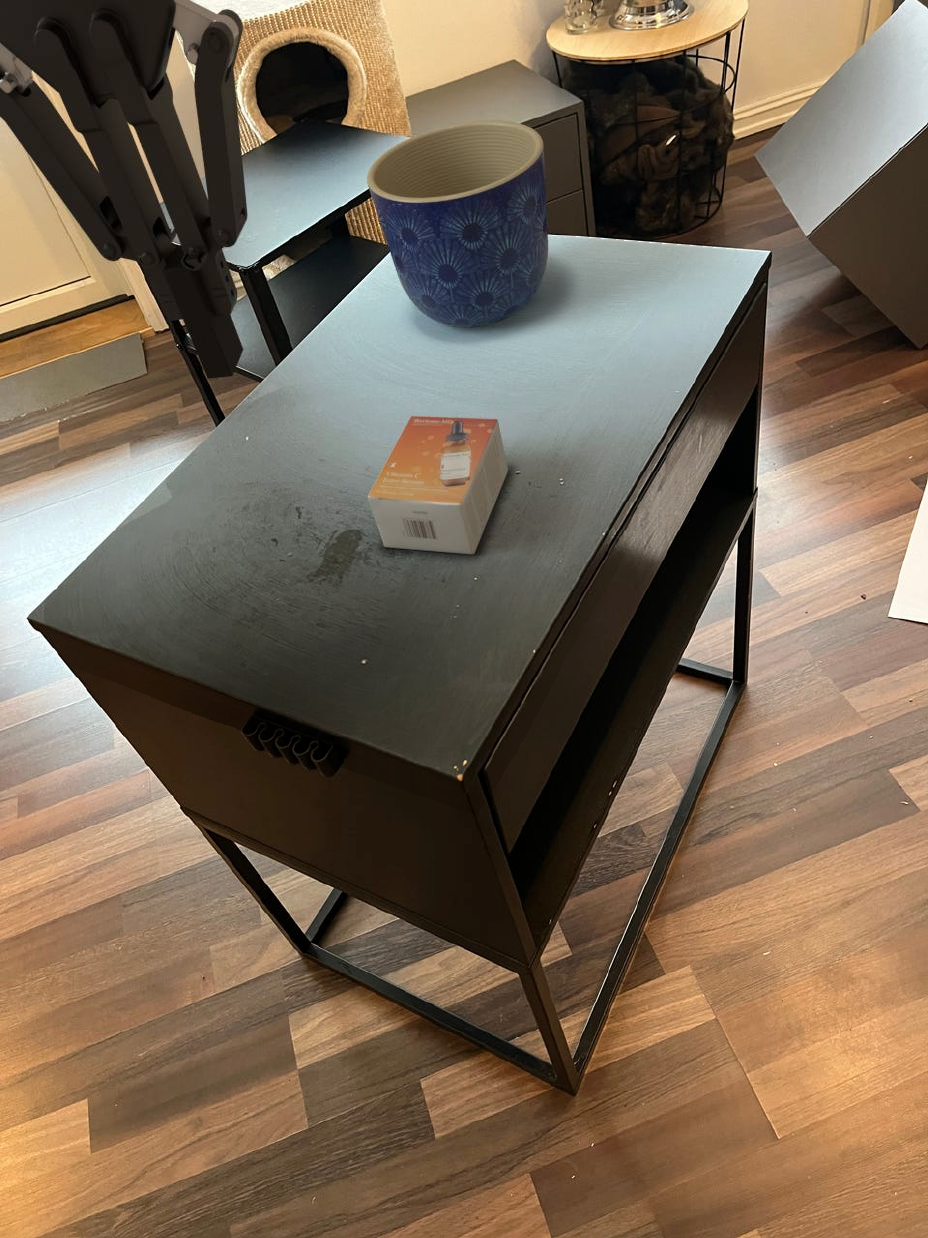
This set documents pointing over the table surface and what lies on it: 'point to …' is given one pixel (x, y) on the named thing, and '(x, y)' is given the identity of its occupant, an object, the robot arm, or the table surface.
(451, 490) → the small box
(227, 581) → the table surface
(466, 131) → the planter
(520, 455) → the table surface
